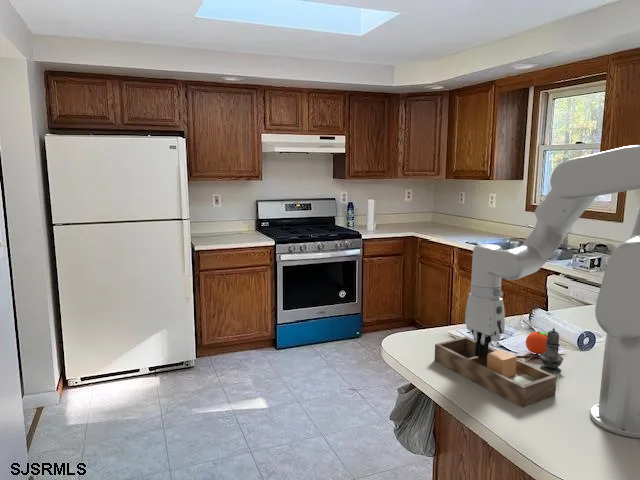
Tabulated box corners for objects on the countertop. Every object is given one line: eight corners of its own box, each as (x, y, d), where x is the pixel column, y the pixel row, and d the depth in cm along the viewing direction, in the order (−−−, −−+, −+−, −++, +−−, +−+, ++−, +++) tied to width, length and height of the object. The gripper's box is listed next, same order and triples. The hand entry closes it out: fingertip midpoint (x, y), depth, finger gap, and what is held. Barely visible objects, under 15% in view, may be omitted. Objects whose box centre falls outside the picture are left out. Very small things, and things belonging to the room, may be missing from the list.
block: (515, 374, 123) (516, 356, 122) (502, 378, 120) (503, 360, 119) (500, 367, 127) (501, 349, 126) (486, 371, 125) (487, 353, 124)
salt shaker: (565, 375, 128) (568, 332, 126) (541, 373, 129) (545, 331, 127) (558, 365, 133) (562, 325, 131) (536, 364, 134) (539, 323, 132)
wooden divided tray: (555, 395, 117) (556, 376, 116) (522, 407, 111) (523, 387, 110) (465, 352, 143) (465, 336, 142) (434, 360, 137) (435, 344, 136)
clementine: (551, 351, 143) (553, 328, 142) (556, 360, 137) (558, 337, 135) (523, 349, 145) (524, 326, 144) (527, 358, 138) (528, 335, 137)
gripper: (518, 296, 121) (513, 363, 124) (474, 282, 134) (470, 343, 137) (498, 300, 117) (493, 369, 121) (454, 286, 130) (451, 348, 134)
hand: (481, 355), depth 129 cm, fingers closed
